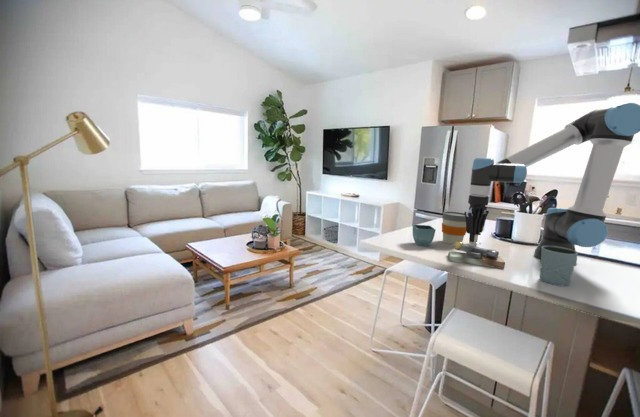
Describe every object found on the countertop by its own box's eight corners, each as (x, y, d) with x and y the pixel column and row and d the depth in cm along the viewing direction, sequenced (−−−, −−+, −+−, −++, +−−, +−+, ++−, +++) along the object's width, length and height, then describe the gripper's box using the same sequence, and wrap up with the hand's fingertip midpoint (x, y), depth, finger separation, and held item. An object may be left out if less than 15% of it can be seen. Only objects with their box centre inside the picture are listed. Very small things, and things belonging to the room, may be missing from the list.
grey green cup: (578, 288, 103) (585, 255, 101) (545, 285, 105) (551, 252, 103) (560, 277, 113) (566, 246, 111) (530, 274, 114) (536, 243, 112)
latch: (453, 249, 131) (454, 242, 131) (456, 247, 135) (457, 240, 134) (496, 259, 121) (498, 251, 120) (498, 256, 124) (500, 249, 124)
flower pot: (434, 247, 143) (436, 229, 141) (415, 246, 143) (417, 228, 142) (427, 242, 152) (429, 225, 150) (410, 241, 152) (412, 224, 150)
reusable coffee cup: (434, 239, 159) (437, 211, 156) (454, 238, 162) (458, 211, 159) (449, 246, 147) (453, 216, 144) (471, 245, 150) (475, 216, 147)
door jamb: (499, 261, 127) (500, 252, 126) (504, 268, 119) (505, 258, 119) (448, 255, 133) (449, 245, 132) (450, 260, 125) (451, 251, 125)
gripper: (480, 193, 132) (474, 244, 137) (460, 194, 126) (454, 248, 131) (497, 195, 126) (489, 249, 130) (477, 197, 120) (470, 253, 124)
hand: (472, 248), depth 131 cm, fingers closed
